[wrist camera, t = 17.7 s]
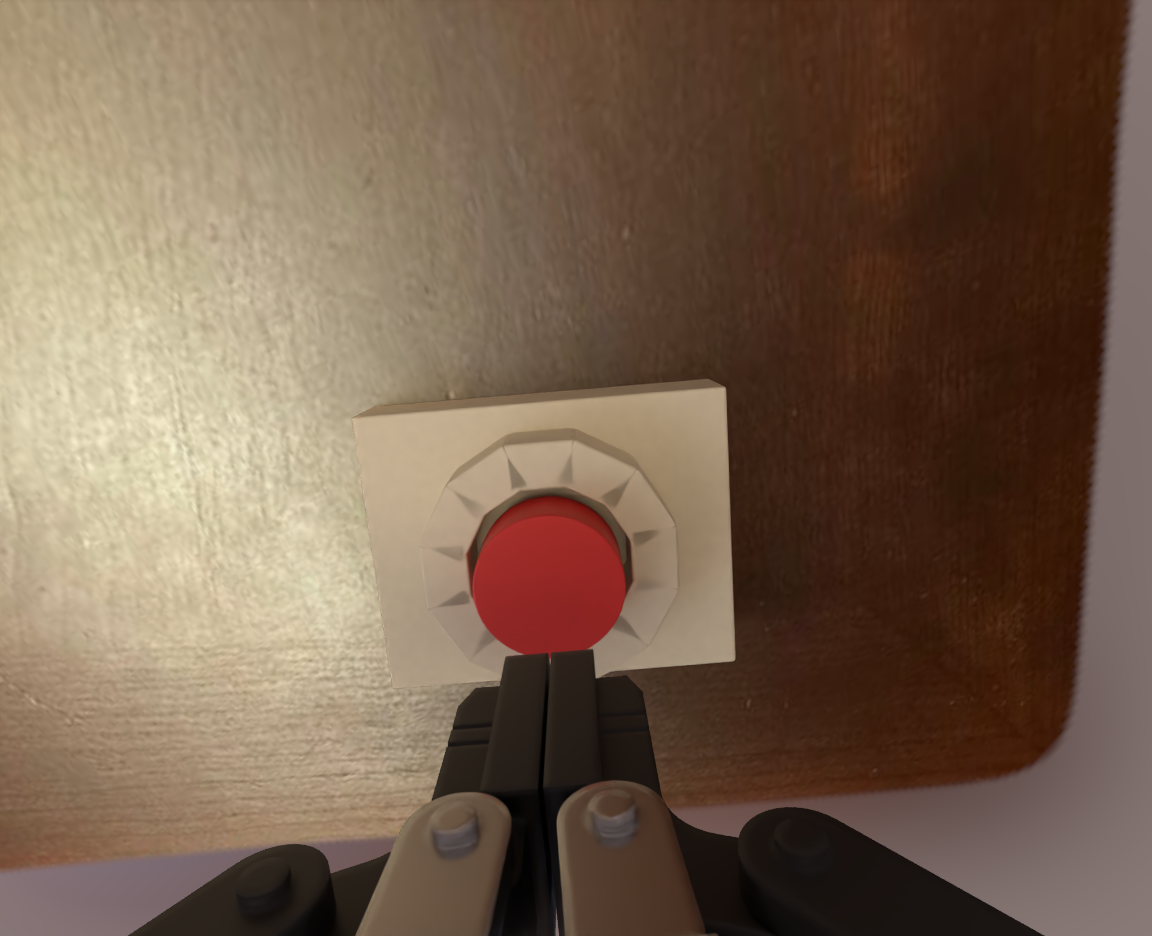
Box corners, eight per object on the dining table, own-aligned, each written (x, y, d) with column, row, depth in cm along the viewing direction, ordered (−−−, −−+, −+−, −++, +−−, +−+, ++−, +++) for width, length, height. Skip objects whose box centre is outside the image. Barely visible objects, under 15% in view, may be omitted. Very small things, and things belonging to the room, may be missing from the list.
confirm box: (408, 654, 23) (375, 726, 19) (372, 406, 21) (328, 428, 17) (720, 628, 23) (752, 695, 19) (710, 378, 21) (743, 394, 17)
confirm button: (488, 633, 19) (480, 665, 17) (473, 501, 18) (463, 521, 16) (624, 621, 19) (630, 653, 17) (615, 489, 18) (620, 508, 16)
